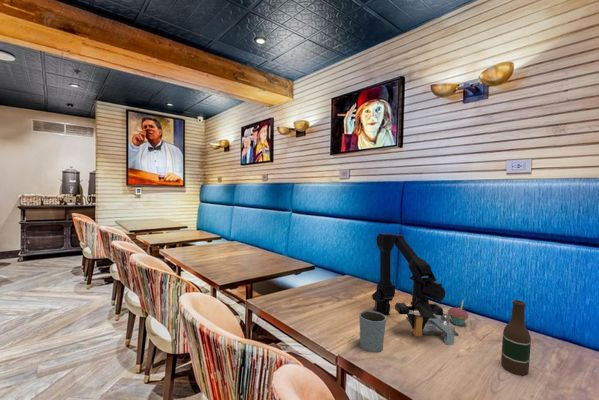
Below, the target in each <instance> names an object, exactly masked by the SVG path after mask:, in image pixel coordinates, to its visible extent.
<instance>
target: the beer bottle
mask: <svg viewBox="0 0 599 400" xmlns="http://www.w3.org/2000/svg"><path fill="white" fill-rule="evenodd" d="M511 304H512V308H511V310H512V311H511V316H510V317H511V318H510V321H509V322H508V323H507V324H506V325H505V327H504V328H503V331H502V332H503V333H502V340H501V342H502V343H501V357H500V361H501V362H500V364H501V366H502V367H503V368H504V370H506V371H508V372H509V373H511V374H513V375H518V376H521V377H524V376H527V374H529V371H530V356H531V345H532V344H531V342H532V337H531V334H530V331H529V329H528V328H527V327H526V316H525V314H526V313H525V312H526V311H525V310H526V309H525V307H526V306H527V304H526V303H525V302H524V301H522V300H520V299H514V300H512V303H511Z"/></svg>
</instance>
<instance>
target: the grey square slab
mask: <svg viewBox="0 0 599 400" xmlns="http://www.w3.org/2000/svg"><path fill="white" fill-rule="evenodd" d="M414 315H420V313H419V311H414ZM433 315H434V317H431V318H429V320H428V321H427V323H426V325H425V327H424V329H422V336H424V335H425V336H443V343H444V344H445V345H446V344H453V345H454V344H455V337H456V336H459V333H458V332H456V326H455V324H453V323H452V322H450V320H451V317H450V315H449V314H448V313H445V312H443V316H442V315H436V314H433ZM420 316H421V315H420ZM405 318H406V320H407V321H408V322H409V323H410V321H409V318H408V316H405Z"/></svg>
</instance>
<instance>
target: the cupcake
mask: <svg viewBox="0 0 599 400" xmlns="http://www.w3.org/2000/svg"><path fill="white" fill-rule="evenodd" d="M464 302H465V299H462V301H461V305H460V307H451V308H449V309H448V310H447V314H448V315H449V316H450V320H451V324H453V325H454V326H455V325H456V326H460V327H461V326H464V323H465V321H466V320H468V319H469V313H467V311H466V310H465V309H463V306H464Z"/></svg>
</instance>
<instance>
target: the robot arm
mask: <svg viewBox="0 0 599 400" xmlns="http://www.w3.org/2000/svg"><path fill="white" fill-rule="evenodd" d="M376 246H377V248H378V250H379V252H380V253H379V254H380V255H379V256H380V257H379V258H380V260H379V266H380V267H379V276H380V277H379V281H378V283H377V285H376V291H375V292H374V293H373V294H372V295H371V297H372V300H373V301H374V308H373V310H372V311H375V312H379V313H381V314H383V315H385V316H390V315H391V313H390V312H391V303H390V302H392V301H393V300H394V297H395V294H396V286H395V284H393V283H392V279H391V276H392V275H391V274H392V273H391V271H392V270H391V269H392V267H391V265H392V264H391V262H392V261H391V260H392V259H391V256H392V254H391V253H392V251H393V248H394V247H396V248H397V250H398V251H399V252H400V253H401V255H402V256H403V257H404V259H405V260H406V262H407V264H408V269H409V271H410V273H411V274H412V275H411V276H410V277H409V280H411V281H412V291H411V292H410V295H411V301H410V305H407V304H406V303H405V302H396V303H395V304H394V309H395V311H396V313H398V314H399V315H407V316H406V317H408V318H409V321H410V322H409V321H408V322H409V324H410V326H411V327H410V328H411V329H412V330H413V329H414V318H415V315H414V312H419V313H420V315H421V317H423V321H422V329H424V327H425V325H426V323H427V321H428V320H429V318H431V317H434V315H433V314H436V315H442V316H443V313H444V309H443V307H441V306H440V305H438V304H437V303H430V301H429V298H430V299H432V300H434V301H437V302H441V301H443V300H444V299H445V297H446V290H445V288H444V287H443V284H442V283H441V282H437V279H436V277H435V275H434V273H433V270H432V266H431V265H430V264H429V263H428V262H427V261H426V260H425V259H423V258H421V257H419V256H418V254H416V252H415V251H414V249H413V248H412V247H411V246H410V244H409V242H407V241H406V239H405V237H404V236H403V235H402V234H392V233H379V234H378V235H376Z"/></svg>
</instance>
